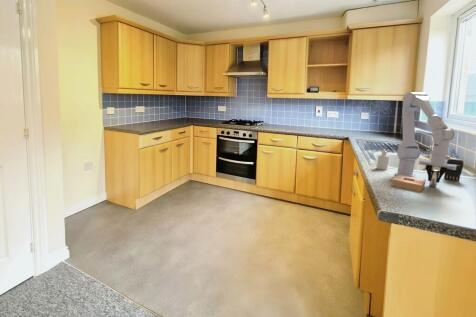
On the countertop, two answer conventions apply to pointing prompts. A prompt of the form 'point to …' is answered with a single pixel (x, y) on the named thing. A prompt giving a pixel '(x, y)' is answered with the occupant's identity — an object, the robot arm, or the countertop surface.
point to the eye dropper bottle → (382, 160)
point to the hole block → (408, 182)
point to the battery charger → (456, 173)
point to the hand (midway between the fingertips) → (433, 181)
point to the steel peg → (434, 178)
